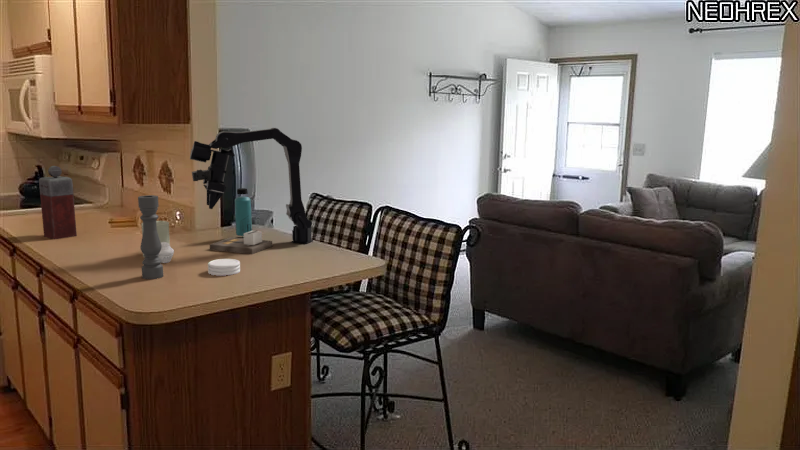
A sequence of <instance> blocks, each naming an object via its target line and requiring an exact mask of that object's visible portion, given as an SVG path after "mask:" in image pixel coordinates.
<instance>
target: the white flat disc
mask: <svg viewBox="0 0 800 450" xmlns="http://www.w3.org/2000/svg"><path fill="white" fill-rule="evenodd" d="M240 272H241V261H240V260H238V259H235V258H219V259H218V258H217V259H214V260H210V261H209V262H208V263H207V273H208V274H209V275H210V274H211V275H210V276H214V275H216V277H217V276H218V277H223V276H224V277H225V276H226V275H228V276H234V275H237V274H239V273H240ZM233 274H234V275H233Z"/></svg>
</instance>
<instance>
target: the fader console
mask: <svg viewBox="0 0 800 450" xmlns="http://www.w3.org/2000/svg"><path fill="white" fill-rule="evenodd" d="M272 247H273V240H265V239H262V242H260V243H258V244H255V245H248V244H244V237H243V238H241V237H233V236H232V237H228V238H225V239H222V240H219V241H217V242H216V241H215V242H213V243H210V244H209V251H218V252H219V251H220V252H228V253H237V254H250V255H253V254H256V253H258V252H261V251H265V250H266V249H269V248H272Z"/></svg>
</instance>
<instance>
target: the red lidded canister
mask: <svg viewBox="0 0 800 450" xmlns="http://www.w3.org/2000/svg"><path fill="white" fill-rule="evenodd" d="M47 173H48V175H49V176H48V177H47V176H46V177H40V178H38V184H39V195H40V196H39V198H40V205H41V215H42V216H41V217H42V219H41V220H42V228H43V229H42V230H43V237H45V238H47V239H52V240H59V239H60V240H61V239H64V238H72V237H73V238H74V237H77V232H78V231H77V224H76V209H75V199H74V198H75V196H74V185H73V179H72V178H71V177H68V176H61V175H62V168H61V167H59V166H56V165H52V166H49V167H48V171H47Z"/></svg>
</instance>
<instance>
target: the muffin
mask: <svg viewBox="0 0 800 450" xmlns="http://www.w3.org/2000/svg"><path fill="white" fill-rule="evenodd" d="M161 245H162V248H161V251H160V253H159V256H158V257H159V258H160V259H161V260H162V262H161V264H168V263H170V262H171V260H172V258H173V256H174V253H175V250H174V248H172V246H171V243H170V244H169V243H167V242H162V243H161Z"/></svg>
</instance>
